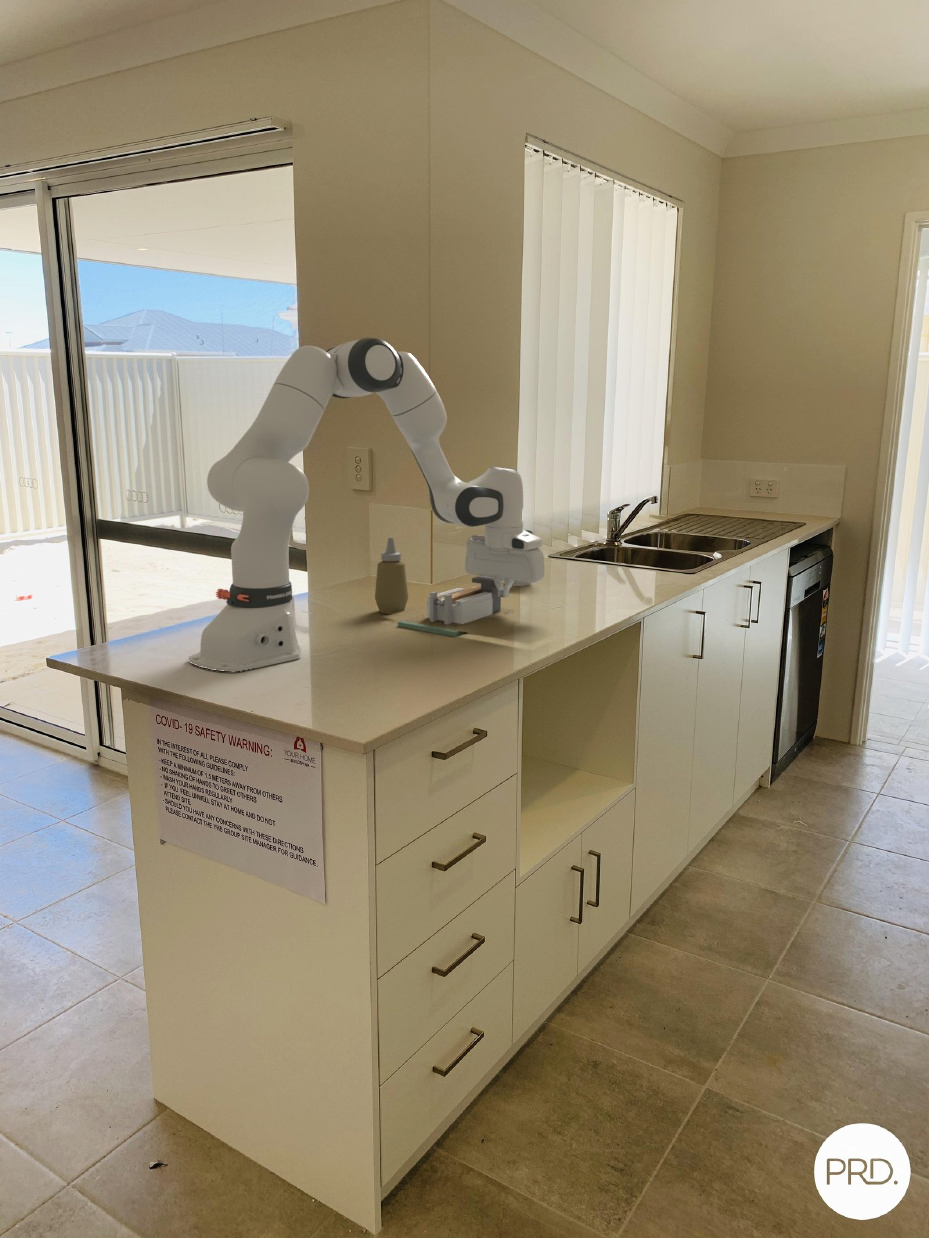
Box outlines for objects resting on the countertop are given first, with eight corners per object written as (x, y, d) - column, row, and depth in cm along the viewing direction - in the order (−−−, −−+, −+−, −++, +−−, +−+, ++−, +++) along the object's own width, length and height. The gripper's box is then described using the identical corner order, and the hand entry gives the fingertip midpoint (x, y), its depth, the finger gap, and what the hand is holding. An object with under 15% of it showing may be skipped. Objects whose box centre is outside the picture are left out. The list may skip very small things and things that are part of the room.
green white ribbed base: (455, 636, 203) (455, 602, 201) (397, 626, 212) (397, 593, 210) (518, 614, 224) (519, 583, 222) (464, 605, 233) (464, 575, 231)
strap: (443, 606, 210) (443, 600, 209) (434, 605, 211) (434, 599, 211) (486, 592, 223) (486, 586, 223) (477, 591, 224) (477, 585, 224)
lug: (491, 613, 220) (491, 580, 219) (471, 610, 224) (471, 577, 222) (500, 610, 224) (501, 578, 222) (481, 607, 227) (481, 575, 225)
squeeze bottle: (368, 613, 224) (366, 538, 220) (386, 607, 231) (385, 534, 227) (397, 617, 220) (396, 541, 216) (414, 610, 227) (414, 537, 223)
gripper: (459, 536, 220) (459, 593, 223) (533, 543, 208) (532, 604, 212) (474, 532, 225) (474, 589, 228) (548, 540, 213) (547, 599, 217)
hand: (503, 596), depth 220 cm, fingers closed
